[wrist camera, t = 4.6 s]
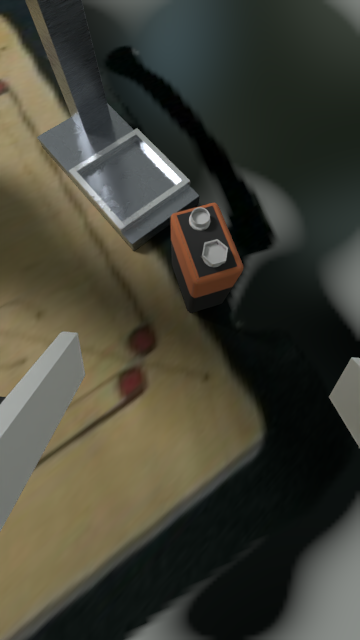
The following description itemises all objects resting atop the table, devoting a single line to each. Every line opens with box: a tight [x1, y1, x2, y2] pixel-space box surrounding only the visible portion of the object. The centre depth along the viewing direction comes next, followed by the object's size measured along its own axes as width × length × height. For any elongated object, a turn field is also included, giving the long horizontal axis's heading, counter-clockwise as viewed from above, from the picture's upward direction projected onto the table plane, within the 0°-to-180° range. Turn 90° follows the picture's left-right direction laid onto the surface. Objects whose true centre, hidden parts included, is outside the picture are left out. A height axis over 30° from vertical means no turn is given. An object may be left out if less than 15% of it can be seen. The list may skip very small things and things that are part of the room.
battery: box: [171, 203, 243, 313], centre depth 23 cm, size 4×7×10 cm, turn 18°
